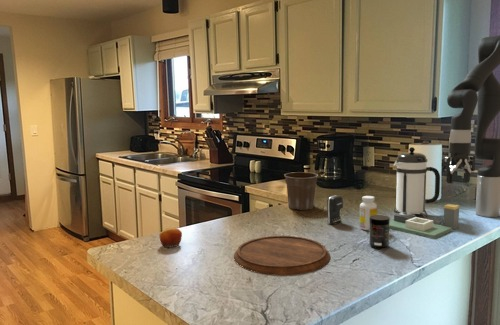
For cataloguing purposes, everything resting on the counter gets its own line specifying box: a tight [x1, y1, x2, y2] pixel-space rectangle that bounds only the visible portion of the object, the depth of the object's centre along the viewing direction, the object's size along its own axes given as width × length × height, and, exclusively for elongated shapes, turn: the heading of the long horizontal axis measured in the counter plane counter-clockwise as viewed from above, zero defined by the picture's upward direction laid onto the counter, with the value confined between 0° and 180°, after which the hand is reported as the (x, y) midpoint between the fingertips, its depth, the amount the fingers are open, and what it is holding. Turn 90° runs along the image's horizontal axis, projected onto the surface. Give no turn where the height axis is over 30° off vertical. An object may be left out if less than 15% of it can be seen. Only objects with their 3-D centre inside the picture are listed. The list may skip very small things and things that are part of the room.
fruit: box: [159, 227, 183, 248], centre depth 155 cm, size 8×8×8 cm
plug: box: [443, 203, 460, 231], centre depth 168 cm, size 4×4×9 cm
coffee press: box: [393, 146, 441, 218], centre depth 187 cm, size 17×16×30 cm
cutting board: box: [233, 235, 331, 276], centre depth 143 cm, size 32×32×2 cm
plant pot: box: [283, 171, 319, 211], centre depth 206 cm, size 16×16×16 cm
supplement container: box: [368, 214, 391, 250], centre depth 149 cm, size 7×7×10 cm
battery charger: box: [326, 195, 344, 225], centre depth 178 cm, size 7×4×11 cm, turn 134°
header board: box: [389, 212, 452, 239], centre depth 168 cm, size 14×22×5 cm, turn 40°
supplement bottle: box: [359, 195, 378, 231], centre depth 169 cm, size 7×7×13 cm
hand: (458, 182), depth 168 cm, fingers open, 8 cm apart
